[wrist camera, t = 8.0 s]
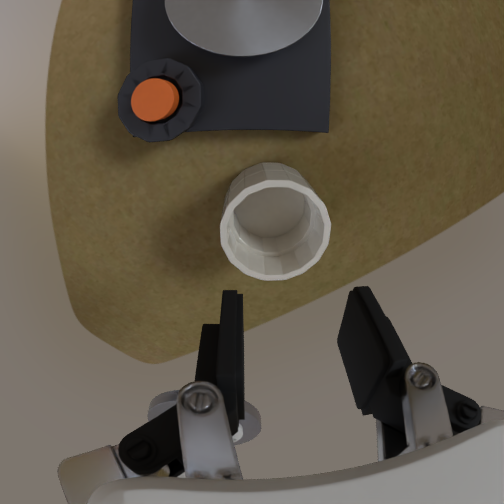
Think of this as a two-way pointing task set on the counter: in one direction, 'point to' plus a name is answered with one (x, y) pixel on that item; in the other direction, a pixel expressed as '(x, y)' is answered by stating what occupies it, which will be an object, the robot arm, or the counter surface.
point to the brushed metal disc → (243, 24)
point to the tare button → (154, 99)
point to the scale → (227, 81)
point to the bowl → (273, 222)
